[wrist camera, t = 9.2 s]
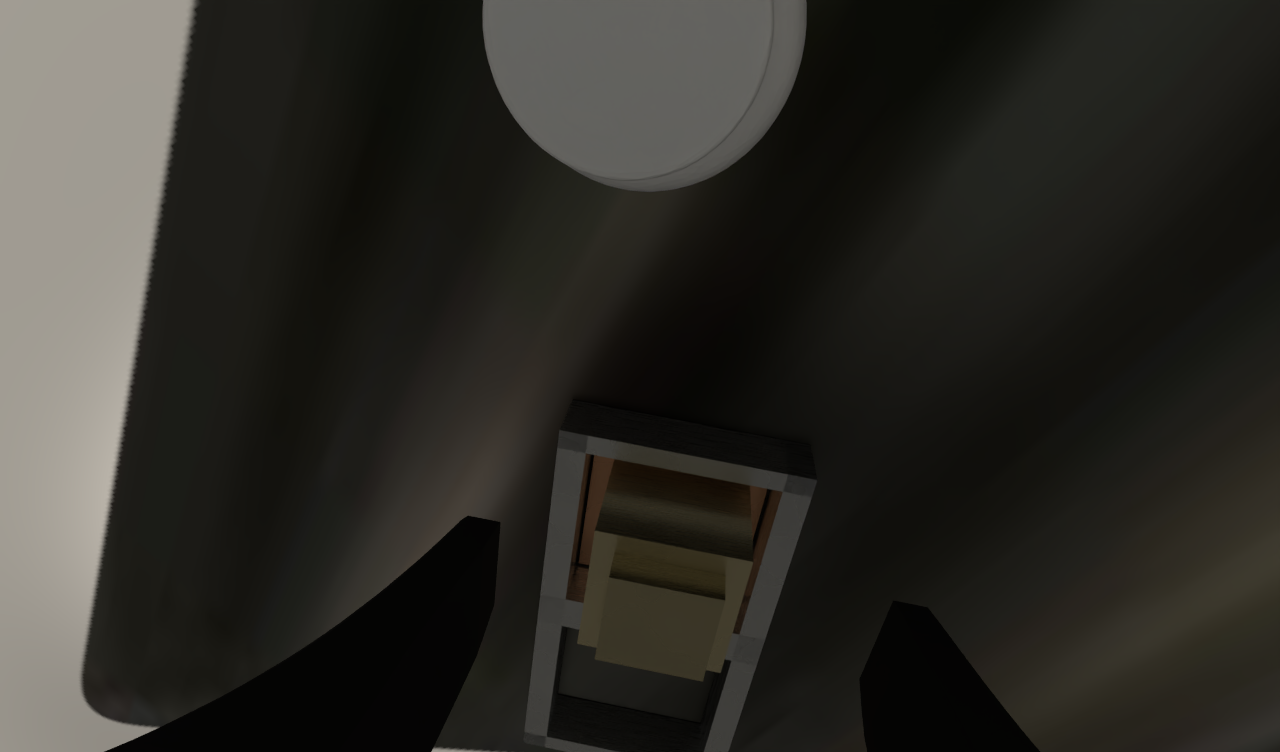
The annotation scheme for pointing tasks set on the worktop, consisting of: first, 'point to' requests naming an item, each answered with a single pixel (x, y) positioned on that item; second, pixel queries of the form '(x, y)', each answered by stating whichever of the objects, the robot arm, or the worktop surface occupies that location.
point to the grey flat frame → (589, 731)
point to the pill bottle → (645, 81)
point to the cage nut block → (667, 570)
